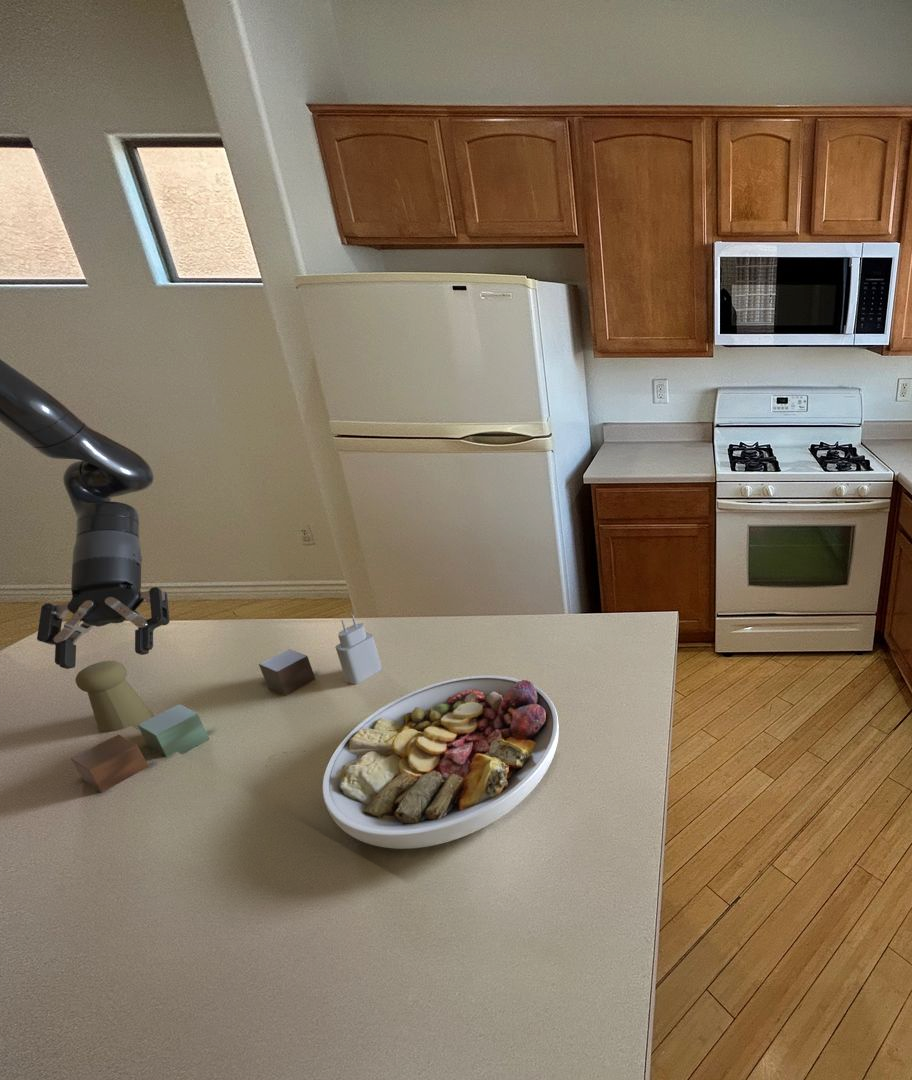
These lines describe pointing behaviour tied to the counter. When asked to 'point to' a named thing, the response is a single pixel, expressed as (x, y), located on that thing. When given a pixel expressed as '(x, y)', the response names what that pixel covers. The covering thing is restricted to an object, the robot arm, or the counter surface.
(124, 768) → the block row
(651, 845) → the counter surface
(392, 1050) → the counter surface
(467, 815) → the bowl
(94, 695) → the cork
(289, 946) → the counter surface
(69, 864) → the counter surface
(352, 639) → the power adapter
